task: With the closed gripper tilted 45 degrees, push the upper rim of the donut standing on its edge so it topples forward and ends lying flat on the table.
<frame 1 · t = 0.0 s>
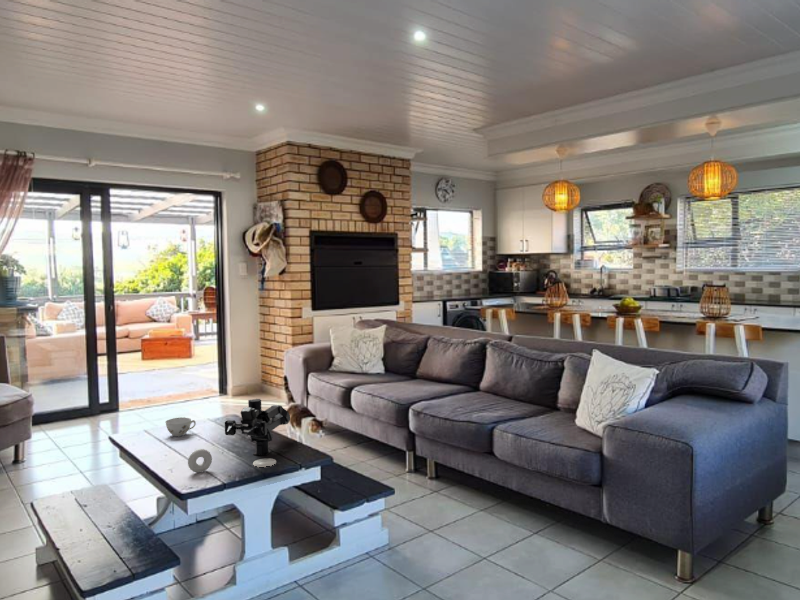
hand: (237, 433, 246), 17 cm above the table, tool horizontal, fingers open, 9 cm apart
donut: (200, 472, 247), on the table
teacup: (181, 435, 306), on the table
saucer: (264, 463, 257), on the table
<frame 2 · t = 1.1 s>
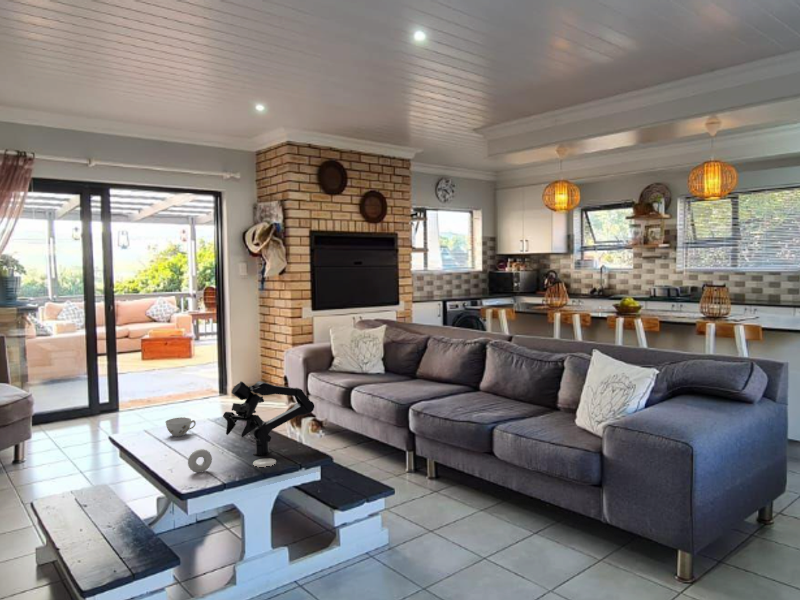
hand: (234, 435, 257), 13 cm above the table, tool tilted 45°, fingers open, 8 cm apart
nothing on the table moved.
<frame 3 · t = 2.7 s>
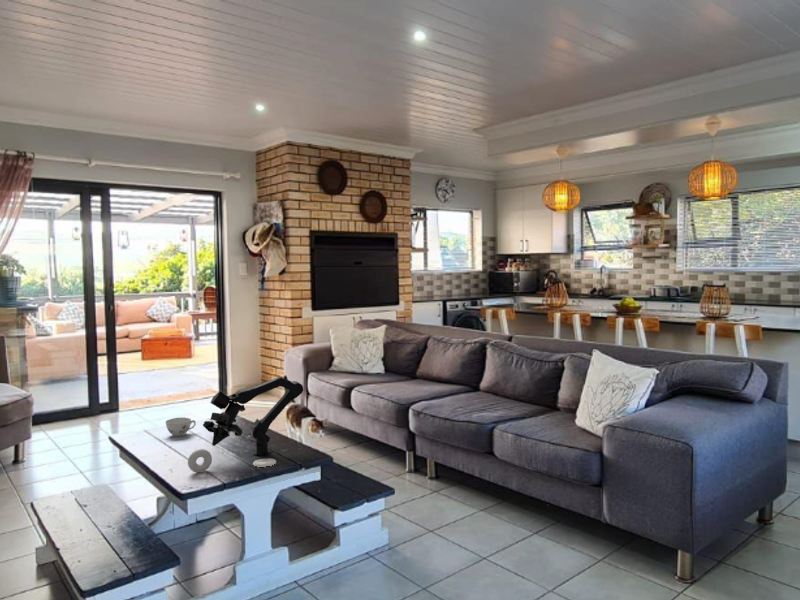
hand: (213, 445, 254), 9 cm above the table, tool tilted 45°, fingers closed
nothing on the table moved.
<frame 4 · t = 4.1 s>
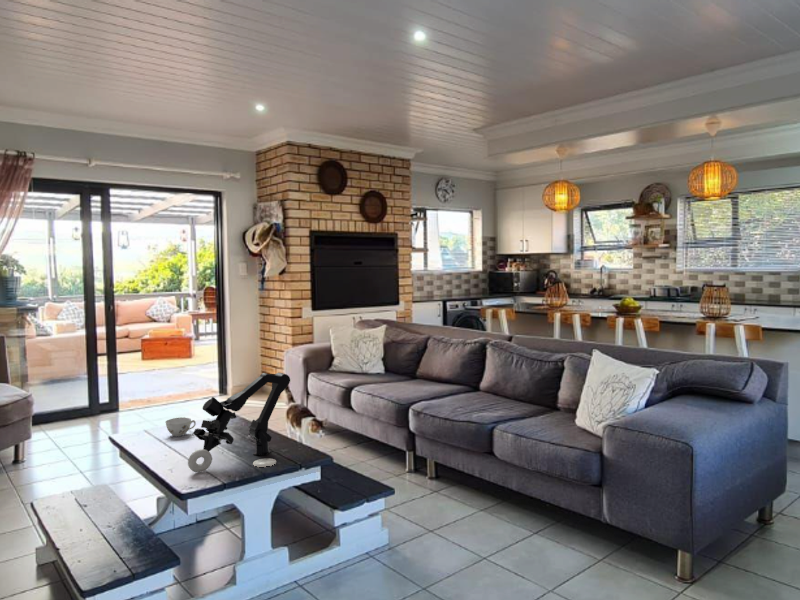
hand: (203, 453, 249), 7 cm above the table, tool tilted 45°, fingers closed
donut: (200, 472, 247), on the table, touching gripper
everything else where it was.
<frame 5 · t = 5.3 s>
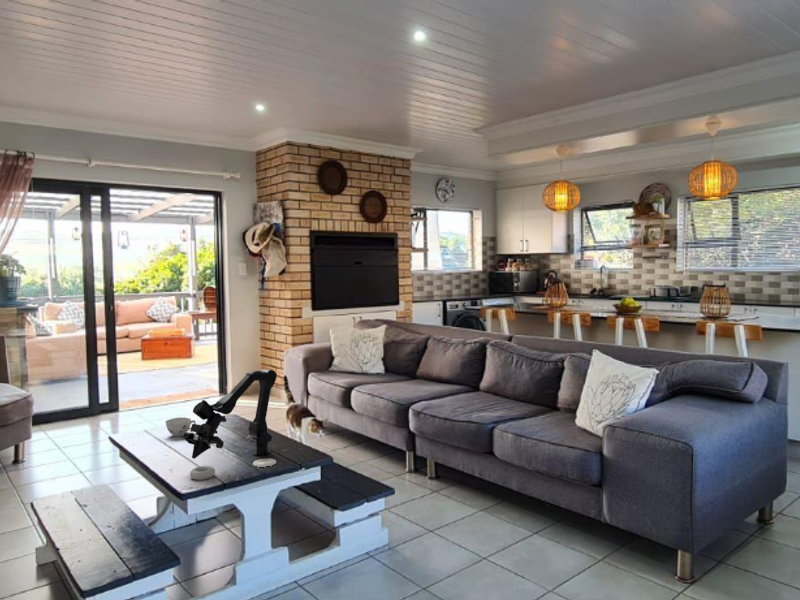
hand: (193, 458, 243), 7 cm above the table, tool tilted 45°, fingers closed
donut: (201, 469, 246), point 2 cm above the table
everything else where it was.
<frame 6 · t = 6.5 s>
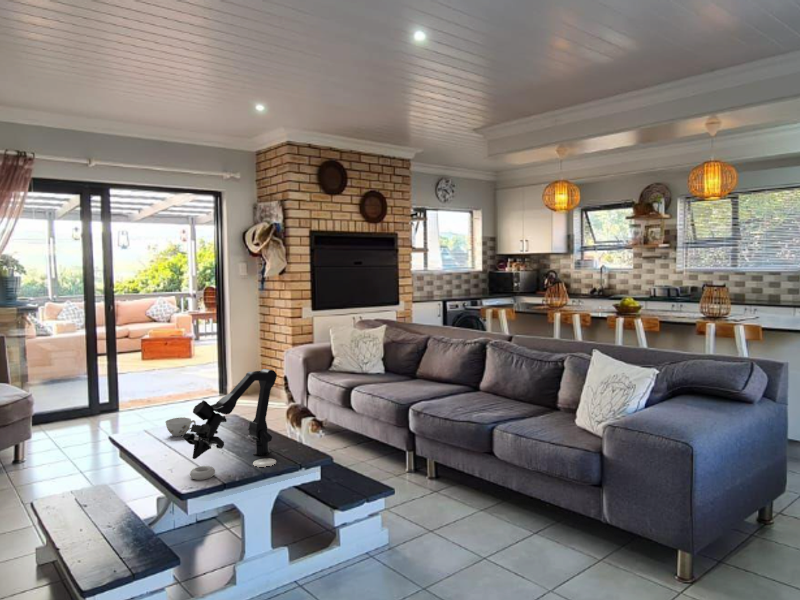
hand: (193, 458, 243), 7 cm above the table, tool tilted 45°, fingers closed
nothing on the table moved.
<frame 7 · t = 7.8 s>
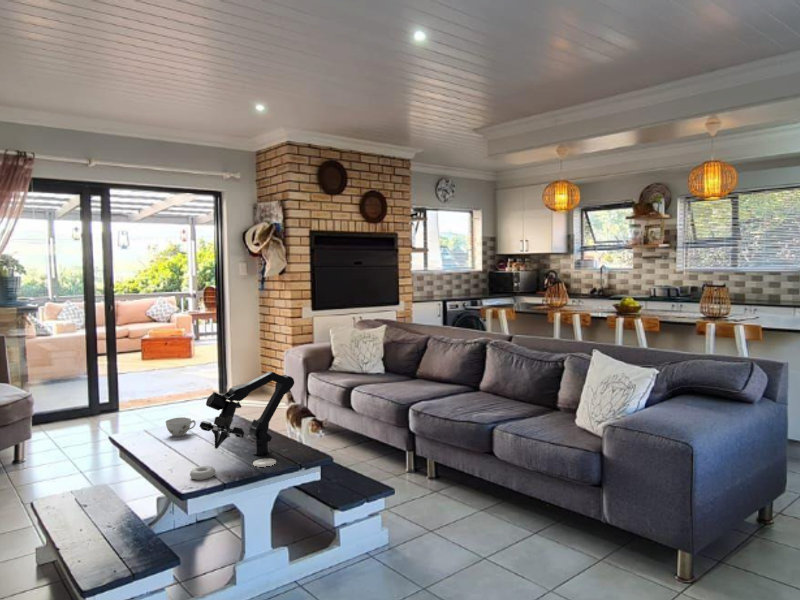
hand: (215, 448, 252), 9 cm above the table, tool tilted 35°, fingers closed
nothing on the table moved.
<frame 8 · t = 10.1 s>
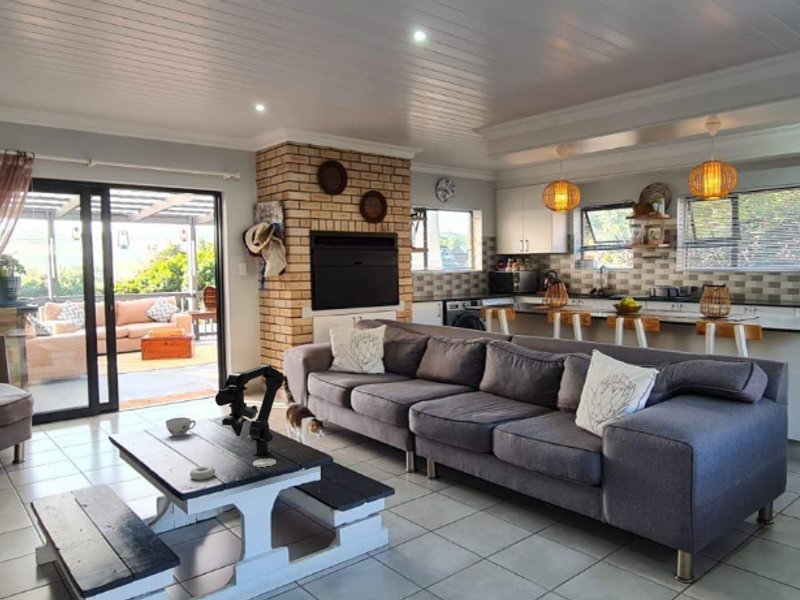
hand: (238, 436, 258), 12 cm above the table, tool pointing down, fingers closed
nothing on the table moved.
at the end: donut tilted 89°; donut inside the target area (5.1 cm from its centre), point 1.6 cm above the table; the gripper is holding nothing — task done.
